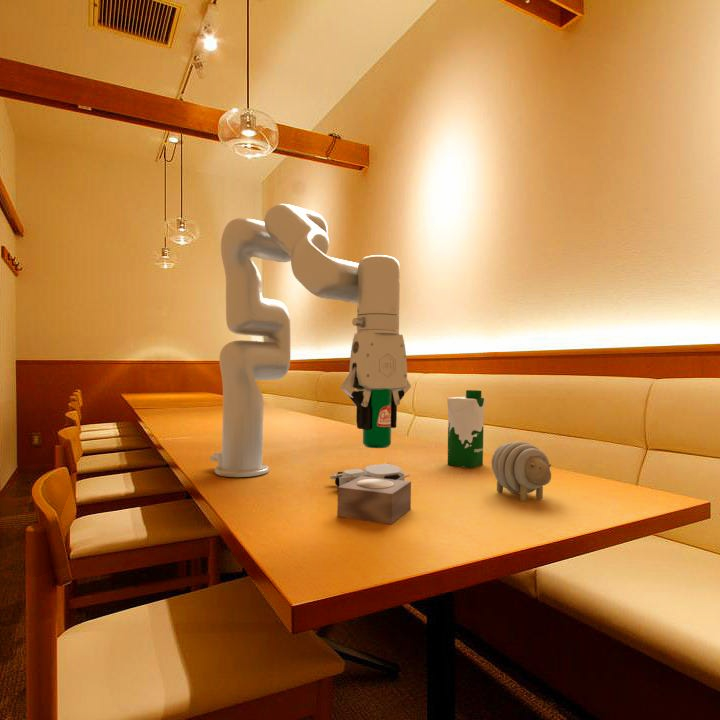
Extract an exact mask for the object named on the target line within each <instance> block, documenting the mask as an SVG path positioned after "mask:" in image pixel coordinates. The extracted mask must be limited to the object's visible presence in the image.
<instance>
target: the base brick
mask: <svg viewBox="0 0 720 720" xmlns="http://www.w3.org/2000/svg"><path fill="white" fill-rule="evenodd" d="M411 495H412V481H410V480H409V481H408V480H405V481H402V480H393V479H384V478H375V477H366V476H360V477H358V478H356V479H354V480H352V481H349V482H347V483H345V484H343V485H341V486H339V487H338V486H337V514H336V515H337V517H343V518H349V519H353V520H361V521H369V522H376V523H381V524H388V525H393V524H394V523H395V522H397V520H399V519H401V517H402V516H404V515H405V514H406V513H408V512H409V511H410V510H411V504H412V503H411V502H412V501H411V500H412V499H411V498H412V496H411Z"/></svg>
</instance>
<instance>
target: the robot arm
mask: <svg viewBox="0 0 720 720" xmlns="http://www.w3.org/2000/svg"><path fill="white" fill-rule="evenodd" d="M327 224H328V223H327V222H326V220H325V219H324V217H323V216H322V215H321V214H319V213H318V212H315V211H313V210H310V209H307V208H302V207H300V206H295V205H292V204H288V203H287V204H286V203H278V204H275V205H273V206H271V207H270V208H269V209H267V211H266V213H265V215H264V220H263V221H261V220H257V219H253V218H246V217H241V218H234V219H232V220H230V221H229V222H227V224H226V225H225V226H224V229H223V231H222V235H221V239H220V255H221V261H222V265H223V269H224V275H225V317H226V318H225V320H226V325H227V329H228V330H229V331H230V332H232V333H234V334H236V335H242V336H252V337H253V336H256V337H263V341H258V340H243V339H242V340H232V341H230V342H228V343H226V344H225V345H224V346H223V347H222V348H221V350H220V353H219V368H220V374H221V381H222V430H221V433H222V434H221V435H222V436H221V437H222V438H221V439H222V440H221V452H218V451H215V452H213V454H211V456H210V457H209V459H210V461H211V462H217V466H215V467H214V473H215V474H216V475H218V476H221V477H227V478H247V477H248V478H249V477H257V476H261V475H265V474H267V473H268V472H269V469H270V468H269V466H268V465H267V464H265V463H263V453H264V452H263V447H264V446H263V445H264V443H263V441H264V396H263V393H262V391H261V389H260V387H259V385H258V384H257V382H256V381H275V380H276V381H277V380H280V379H282V378H284V377H285V376H287V374H288V372H289V370H290V366H291V318H290V313H289V310H288V308H287V306H286V305H285V304H284V303H283V302H282V301H280V300H277V299H273V298H272V299H271V298H264V297H263V292H262V291H263V289H262V287H263V286H262V285H263V284H262V282H263V281H262V277H261V274H260V273H261V272H259V269H258V267H257V265H256V264H255V263H254V262H253V260H252V258H258V259H263V260H268V261H273V262H277V263H288V262H290V266H291V271H292V274H293V276H294V277H295V279H296V281H298V282H299V283H300V284H301V285H302V286H303V287H304V288H305V289H306V290H307V291H308V292H309V293H310V294H312V295H314V296H316V297H317V298H320V299H324V300H325V299H326V300H333V301H341V302H345V303H346V302H347V303H352V304H357V307H356V308H357V310H356V311H357V315H356V318H355V317H354V318H352V321H351V323H352V326H355V327H356V333H354V335H353V338H352V343H351V347H350V348H351V349H350V356H349V357H350V359H349V370H348V375H347V376H346V378H345V380H343V382H342V384H341V385H340V388H341V390H342V391H343V392H344V393H345V394H346V395H348V398H349V399H351V401H352V403H353V405H354V406H355V407H356V414H355V415H356V419H355V420H356V428H357V429H360V430H363V429H364V430H369V429H370V424H371V408H370V407H368V402H369V398H370V394H371V390H383V389H389V390H392V406H391V429H395V428H397V419H398V418H397V415H398V410H397V409H398V406H399V405H400V404H401V400H402V399H403V398H404V396H405V395H406V393H407V392H408V391H409V390H410V389H411V387H412V386H411V384H410V382H409V380H408V362H407V353H406V352H407V351H406V345H405V340H404V336H403V334H400V281H401V279H400V278H401V277H400V273H401V269H400V262H399V261H398V259H397V258H395V257H393V256H390V255H384V254H383V255H381V254H378V255H377V254H376V255H375V254H374V255H369V256H368V255H367V256H364V257H363V258H362V259H360V260H359V262H353V261H349V260H344V259H339V258H336V257H331V256H328V255H327V253H328V251H329V247H330V240H329V236H328V231H329V230H328V225H327Z"/></svg>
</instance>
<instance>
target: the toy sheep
mask: <svg viewBox="0 0 720 720" xmlns="http://www.w3.org/2000/svg"><path fill="white" fill-rule="evenodd" d="M548 458H549V457H548V456H547V455H546V453H544V452H543V451H542V450H541V449H539V448H538V447H537V446H536V445H533V444H530V443H528V442H525V441H511V442H507V443H503V444H501V445H499V446H498V447H497V448H496V449H495V450H494V452H493V455H492V458H491V468H492V471H493V474H494V476H495V479H496V491H497V493H502V492H503V491H504V489H506V490H507V491H509V492H510V493H513V494H517V495H518V494H519V500H520V501H521V502H522V503H525V502H527V500H528V494H530V493H533V492H534V491H535V498H536V500H539V501H542V500H543V499H544V493H543V492H544V486H546V485H548V484H550V482H551V480H552V473H551V467H552V463H550V460H549V459H548Z"/></svg>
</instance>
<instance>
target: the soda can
mask: <svg viewBox="0 0 720 720" xmlns="http://www.w3.org/2000/svg"><path fill="white" fill-rule="evenodd" d="M391 406H392V390H389V389H383V390H371V394H370V398H369V402H368V407H370V408H371V424H370V429H369V430H364V429H362V444H363V445H364V447H366V448H370V449H385V448H388V447H390V446H391V444H392V428H391Z"/></svg>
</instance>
